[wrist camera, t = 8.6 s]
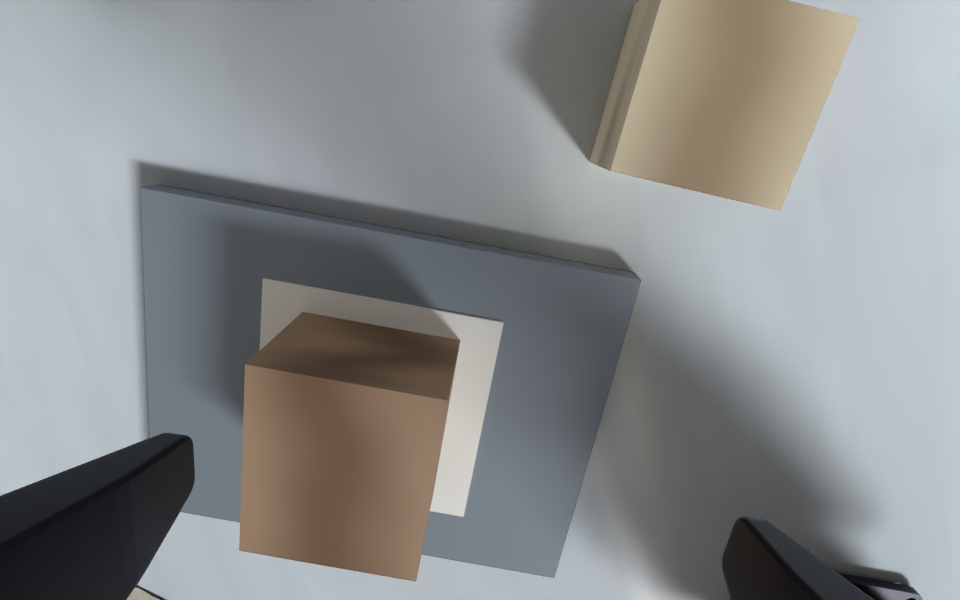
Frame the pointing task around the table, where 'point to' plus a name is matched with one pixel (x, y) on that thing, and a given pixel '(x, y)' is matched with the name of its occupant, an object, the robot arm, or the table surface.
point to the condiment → (140, 595)
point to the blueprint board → (401, 305)
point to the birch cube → (721, 94)
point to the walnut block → (344, 443)
